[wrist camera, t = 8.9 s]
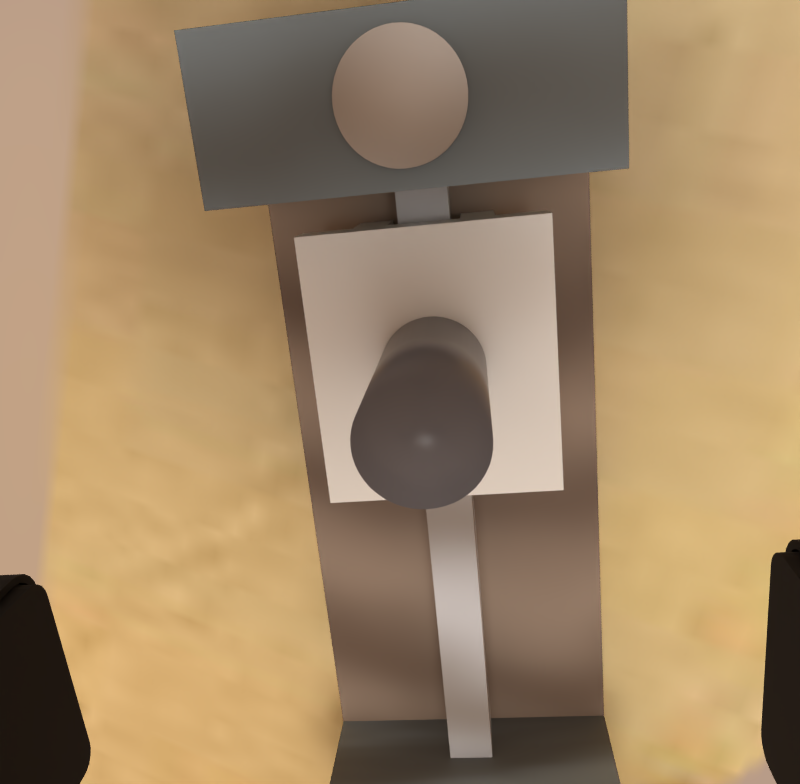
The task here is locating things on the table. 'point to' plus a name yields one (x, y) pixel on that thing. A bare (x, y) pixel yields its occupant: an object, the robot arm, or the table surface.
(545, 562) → the rail track
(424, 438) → the carriage
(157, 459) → the table surface
